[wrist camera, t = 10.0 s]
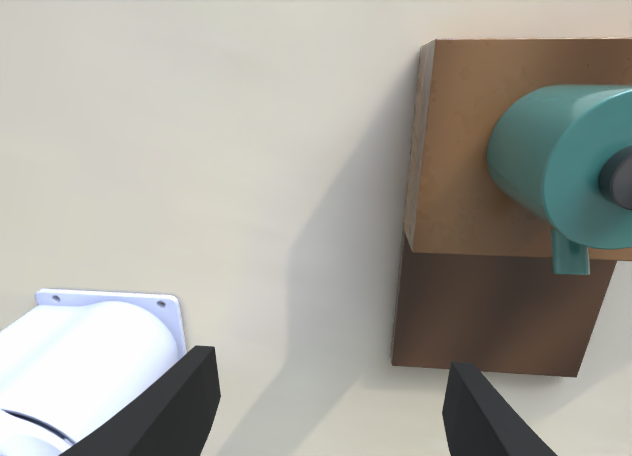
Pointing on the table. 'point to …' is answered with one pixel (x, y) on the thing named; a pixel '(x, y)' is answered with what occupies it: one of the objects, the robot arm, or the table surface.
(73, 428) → the robot arm
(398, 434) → the table surface
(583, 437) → the table surface
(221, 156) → the table surface
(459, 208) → the tier stand
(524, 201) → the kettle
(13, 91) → the table surface
